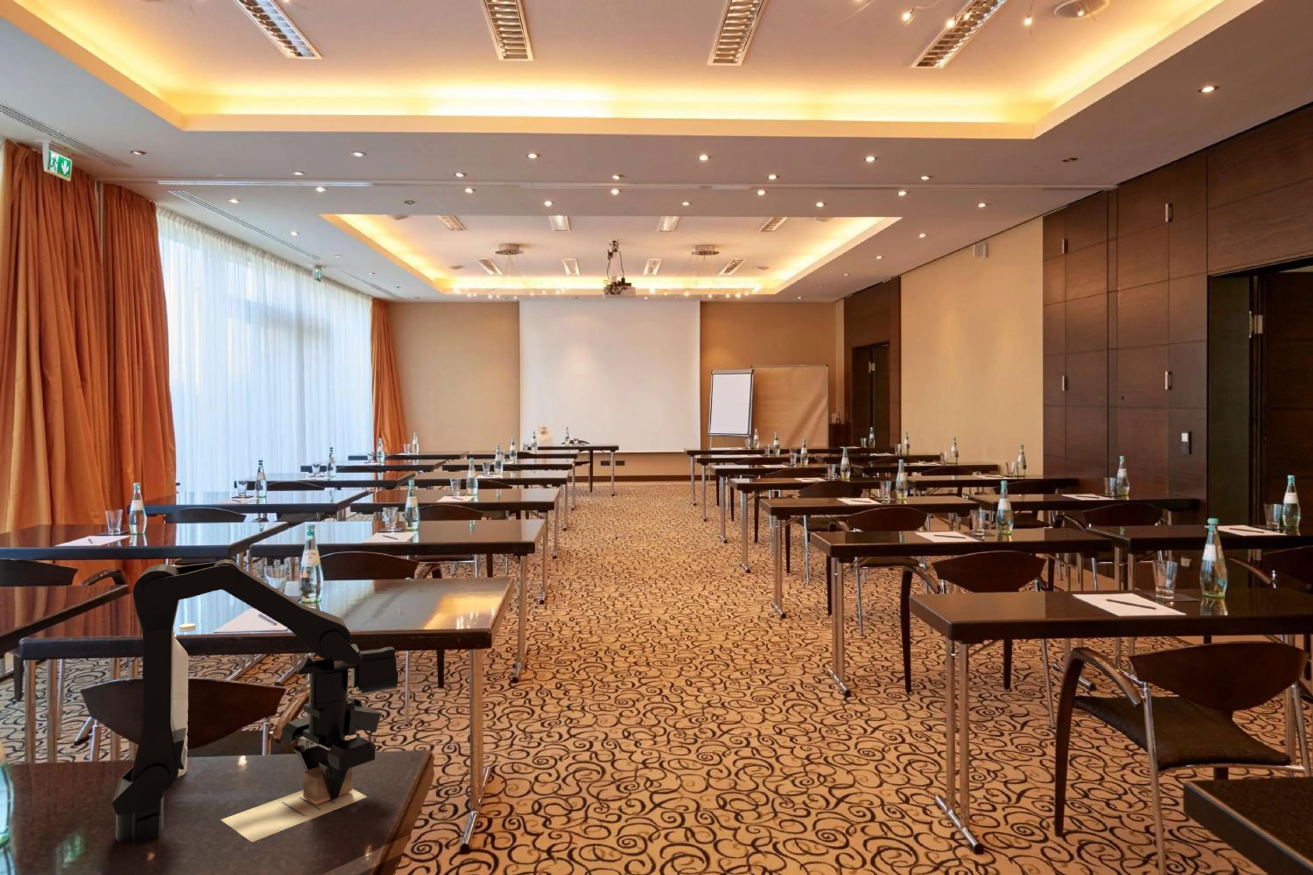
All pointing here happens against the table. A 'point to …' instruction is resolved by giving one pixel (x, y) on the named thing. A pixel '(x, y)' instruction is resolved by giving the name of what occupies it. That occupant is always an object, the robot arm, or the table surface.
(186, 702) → the water bottle
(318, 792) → the block
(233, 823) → the birch board
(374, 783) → the table surface
